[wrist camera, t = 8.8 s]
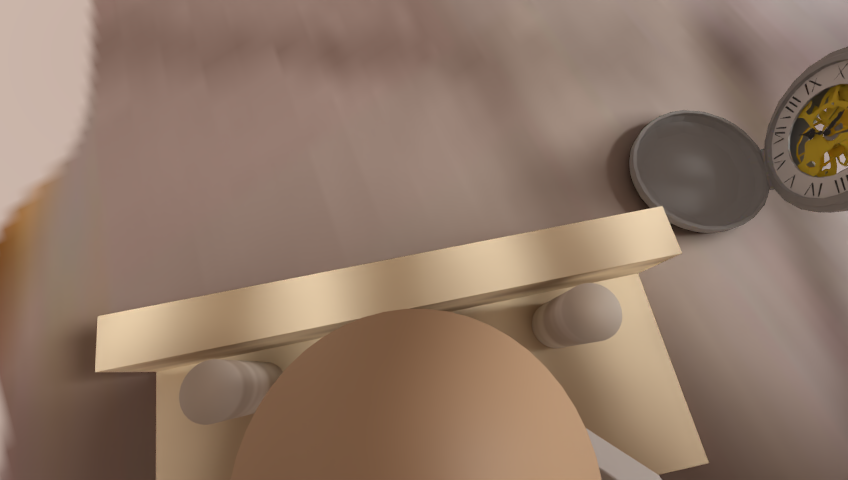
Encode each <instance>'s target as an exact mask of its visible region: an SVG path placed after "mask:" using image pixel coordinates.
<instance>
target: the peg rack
mask: <svg viewBox="0 0 848 480" xmlns="http://www.w3.org/2000/svg"><path fill="white" fill-rule="evenodd" d="M681 253H682V252H681V249H680V247H679V244H678V242H677V240H676V237H675V235H674V232H673V230H672V228H671V225H670V223H669V220H668V218H667V216H666V213H665V211H664V208H663V206H660V207H655V208H650V209H644V210H639V211H634V212H629V213H624V214H619V215H614V216H609V217H604V218H598V219H593V220H588V221H583V222H578V223H573V224H568V225H563V226H557V227H552V228H547V229H542V230H537V231H532V232H527V233H522V234H517V235H511V236H506V237H501V238H496V239H491V240H486V241H481V242H476V243H470V244H465V245H460V246H455V247H450V248H445V249H440V250H435V251H430V252H424V253H419V254H414V255H409V256H404V257H399V258H394V259H389V260H384V261H378V262H373V263H368V264H363V265H358V266H353V267H348V268H343V269H337V270H332V271H327V272H322V273H317V274H312V275H307V276H302V277H297V278H291V279H286V280H281V281H276V282H271V283H266V284H261V285H256V286H250V287H245V288H240V289H235V290H230V291H225V292H220V293H215V294H210V295H204V296H199V297H194V298H189V299H184V300H179V301H174V302H169V303H164V304H158V305H153V306H148V307H143V308H138V309H133V310H128V311H123V312H117V313H112V314H107V315H102V316H98V320H97V341H96V362H95V372H156V480H231V476H232V472H233V468H234V464H235V460H236V456H237V453H238V451H239V448H240V445H241V442H242V440H243V437H244V434H245V431H246V429H247V427H248V425H249V423H250V421H251V419H252V417H253V415H254V413H255V411H256V409H257V408H258V406H259V404H260V403H261V401H262V400H263V398H264V397H265V395H266V394H267V392H268V391H269V389H270V388H271V386H272V385H273V384H274V383H275V381H276V380H277V379H278V378H279V376H280V375H281V374H282V373H283V372H284V370H285V369H286V368H287V367H288V366H289V365H290V364H291V363H292V362H293V361H294V360H295V359H296V358H297V357H298V356H300V355H301V354H302V353H303V352H304V351H305V350H306V349H308V348H309V347H310V346H312V345H313V344H314V343H316V342H317V341H318V340H320V339H321V338H322V337H324V336H326V335H327V334H329V333H331V332H333V331H334V330H336V329H338V328H340V327H342V326H344V325H346V324H348V323H351V322H353V321H356V320H358V319H360V318H363V317H366V316H370V315H374V314H378V313H381V312H386V311H393V310H401V309H433V310H441V311H448V312H452V313H456V314H460V315H464V316H467V317H471V318H473V319H476V320H478V321H480V322H483V323H485V324H488V325H490V326H492V327H494V328H496V329H497V330H499V331H501V332H503V333H504V334H506V335H508V336H510V337H511V338H512V339H514V340H515V341H516V342H518V343H519V344H520V345H522V346H523V347H525V348H526V349H527V350H529V351H530V352H531V353H532V354H533V355H534V356H535V357H536V358H537V359H538V360H539V361H540V362H541V363H542V364H543V365H544V366H545V367H546V368H547V369H548V370H549V371H550V373H551V374H552V375H553V376H554V377H555V379H556V380H557V381H558V382H559V383H560V385H561V386H562V387H563V389H564V391H565V392H566V394H567V395H568V397H569V398H570V400H571V401H572V403H573V404H574V406H575V408H576V410H577V412H578V414H579V416H580V418H581V420H582V422H583V424H584V426H585V428H587V429H588V430H590V431H591V432H593V433H594V434H596V435H597V436H599V437H600V438H602V439H604V440H605V441H607V442H608V443H610V444H611V445H613V446H614V447H616V448H618V449H619V450H621V451H622V452H624V453H625V454H627V455H628V456H630V457H631V458H633V459H635V460H636V461H638V462H639V463H641V464H642V465H644V466H645V467H647V468H648V469H650V470H652V471H653V472H655V473H656V474H658V475H660V474H664V473H668V472H673V471H677V470H681V469H686V468H690V467H694V466H698V465H703V464H707V463H709V462H708V459H707V457H706V454H705V451H704V449H703V446H702V443H701V441H700V438H699V435H698V433H697V430H696V427H695V424H694V422H693V419H692V416H691V414H690V411H689V408H688V406H687V403H686V400H685V398H684V395H683V392H682V390H681V387H680V384H679V382H678V379H677V376H676V374H675V371H674V368H673V366H672V363H671V360H670V358H669V355H668V352H667V350H666V347H665V344H664V342H663V339H662V336H661V334H660V331H659V328H658V326H657V323H656V320H655V318H654V315H653V312H652V310H651V307H650V304H649V302H648V299H647V296H646V294H645V291H644V288H643V286H642V283H641V280H640V278H639V275H638V273H640V272H642V271H644V270H647V269H649V268H651V267H653V266H655V265H658V264H660V263H662V262H664V261H666V260H668V259H671V258H673V257H675V256H677V255H679V254H681Z"/></svg>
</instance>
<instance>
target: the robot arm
mask: <svg viewBox="0 0 848 480" xmlns="http://www.w3.org/2000/svg"><path fill="white" fill-rule="evenodd" d="M586 430H587V432H588V435H589V438H590V440H591V443H592V446H593V449H594V452H595V454H596V457H597V462H598V466H599V470H600V474H601V478H602V480H662V479H661V478H660V476H659V475H658V474H656V473H655V472H653V471H652V470H650V469H648V468H647V467H645V466H644V465H642V464H641V463H639V462H638V461H636V460H635V459H633V458H631V457H630V456H628V455H627V454H625V453H624V452H622V451H621V450H619V449H618V448H616V447H614V446H613V445H611V444H610V443H608V442H607V441H605V440H604V439H602V438H600V437H599V436H597V435H596V434H594V433H593V432H591V431H590V430H588V429H587V428H586Z"/></svg>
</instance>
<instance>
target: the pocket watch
mask: <svg viewBox="0 0 848 480" xmlns="http://www.w3.org/2000/svg"><path fill="white" fill-rule="evenodd" d="M826 108H827V109H826ZM824 109H826V110H827V111H826V112H825V111H824ZM818 117H820V118H821V120H820V119H819V118H818ZM816 121H818V122H817V123H816ZM818 124H823V125H824V127H823V130H822V131H819V130H817V129H816V128H815V127H814V126H816V125H818ZM824 130H825V131H824ZM823 134H824V135H823ZM823 136H824V137H823ZM812 138H813V139H812ZM811 139H812V140H811ZM833 139H834V140H833ZM825 152H828V154H829V157H830V160H829V161H827V162H826V163H824V153H825ZM841 154H844V156H845V158H846V160H845V162H844V164H843V163H842V162H840V157H839V156H840V155H841ZM836 157H837V160H839V161H838V162H839V163H840V164H842V165H844V166H846V167H847V166H848V165H847V163H848V47H846V48H843V49H840V50H837V51H835V52H832V53H830V54H828V55H827V56H825V57H824V58H822V59H821V60H819V61H817V62H816V63H814V64H813V65H811V66H810V67H808V68H807V69H806V70H805V71H804V72H803V73H802V74H801V75H800V76H799V77H798V78H797V79H796V80H795V81H794V82H793V83H792V85H791V86H790V87H789V89H788V90H787V91H786V93H785V94H784V95H783V97H782V98H781V99H780V101H779V103H778V105H777V107H776V109H775V112H774V114H773V116H772V118H771V121H770V123H769V125H768V130H767V134H766V139H765V149H761V150H760V149H759V147H758V146H757V145H756V143H755V142H754V141H753V140H752V139H751V138H750V137H749V136H748V135H747V134H746V133H745V132H744V131H743V130H742V129H740V128H739V127H738V126H736V125H735V124H733V123H731V122H729V121H728V120H726V119H724V118H721V117H718V116H715V115H712V114H709V113H706V112H700V111H686V110H682V111H675V112H670V113H667V114H664V115H662V116H659V117H658V118H656V119H655V120H653V121H651V122H650V123H649V124H648V125H647V126H645V127H644V128H643V129H642V130H641V132H640V134H639V135H638V137H637V139H636V140H635V141H634V144H633V146H632V148H631V152H630V159H629V166H630V174H631V177H632V181H633V184H634V186H635V188H636V190H637V192H638V194H639V195H640V197H641V198H642V199H643V201H644V202H645V203H646V204H647V205H648V206H649V207H650V208H655V207H660V206H663V208H664V211H665V213H666V216H667V218H668V220H669V223H672V224H674V225H676V226H678V227H681V228H683V229H687V230H691V231H695V232H704V233H714V232H723V231H727V230H730V229H733V228H735V227H738V226H741V225H743V224H745V223H746V222H748V221H749V220H751V219H752V218H754V217H755V216H756V215H757V213H758V212H759V211H760V210H761V209H762V207H763V206H764V205H765V202H766V199H767V197H768V193H769V189H770V190H773V189H775V190H776V191H777V192H778V194H779V195H780V196H781V197H782V198H783V199H784V200H785V201H787V202H789V203H791V204H792V205H794V206H796V207H798V208H800V209H803V210H808V211H814V212H839V211H848V168H846V169H844V170H843V171H841V172H839V173H837V174H836V171H837V163H836ZM814 162H815V163H814ZM829 162H830V163H831V168H830V169H825V170H823V171H822V168H823V166H826V165H827V164H828V163H829Z"/></svg>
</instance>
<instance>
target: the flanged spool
mask: <svg viewBox="0 0 848 480" xmlns="http://www.w3.org/2000/svg"><path fill="white" fill-rule="evenodd" d="M231 480H602V478H601V474H600V470H599V466H598V462H597V457H596V454H595V452H594V449H593V446H592V443H591V440H590V438H589V435H588V432H587V430H586V428H585V426H584V424H583V422H582V420H581V418H580V416H579V414H578V412H577V410H576V408H575V406H574V404H573V403H572V401H571V400H570V398H569V397H568V395H567V394H566V392H565V391H564V389H563V387H562V386H561V385H560V383H559V382H558V381H557V380H556V379H555V377H554V376H553V375H552V374H551V373H550V371H549V370H548V369H547V368H546V367H545V366H544V365H543V364H542V363H541V362H540V361H539V360H538V359H537V358H536V357H535V356H534V355H533V354H532V353H531V352H530V351H529V350H527V349H526V348H525V347H523V346H522V345H520V344H519V343H518V342H516V341H515V340H514V339H512V338H511V337H510V336H508V335H506V334H504V333H503V332H501V331H499V330H497V329H496V328H494V327H492V326H490V325H488V324H485V323H483V322H480V321H478V320H476V319H473V318H471V317H467V316H464V315H460V314H456V313H452V312H448V311H441V310H433V309H401V310H393V311H386V312H381V313H378V314H374V315H370V316H366V317H363V318H360V319H358V320H356V321H353V322H351V323H348V324H346V325H344V326H342V327H340V328H338V329H336V330H334V331H333V332H331V333H329V334H327V335H326V336H324V337H322V338H321V339H320V340H318V341H317V342H316V343H314V344H313V345H312V346H310V347H309V348H308V349H306V350H305V351H304V352H303V353H302V354H301V355H300V356H298V357H297V358H296V359H295V360H294V361H293V362H292V363H291V364H290V365H289V366H288V367H287V368H286V369H285V370H284V372H283V373H282V374H281V375H280V376H279V378H278V379H277V380H276V381H275V383H274V384H273V385H272V386H271V388H270V389H269V391H268V392H267V394H266V395H265V397H264V398H263V400H262V401H261V403H260V404H259V406H258V408H257V409H256V411H255V413H254V415H253V417H252V419H251V421H250V423H249V425H248V427H247V429H246V431H245V434H244V437H243V440H242V442H241V445H240V448H239V451H238V453H237V456H236V460H235V464H234V468H233V472H232V476H231Z"/></svg>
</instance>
